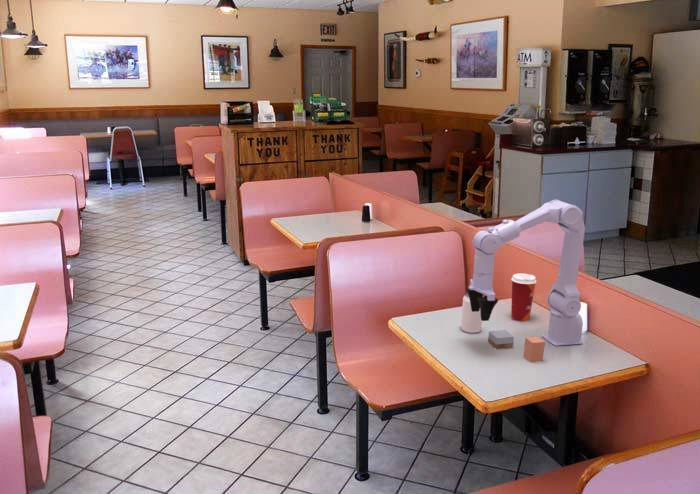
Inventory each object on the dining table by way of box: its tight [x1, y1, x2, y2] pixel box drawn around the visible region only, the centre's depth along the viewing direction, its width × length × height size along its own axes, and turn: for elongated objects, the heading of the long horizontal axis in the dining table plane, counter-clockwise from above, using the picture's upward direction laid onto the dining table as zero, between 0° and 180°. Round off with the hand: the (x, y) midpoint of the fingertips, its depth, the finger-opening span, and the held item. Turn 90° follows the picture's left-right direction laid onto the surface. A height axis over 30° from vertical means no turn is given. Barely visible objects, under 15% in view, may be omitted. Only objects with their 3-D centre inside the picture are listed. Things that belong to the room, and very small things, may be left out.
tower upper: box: [488, 329, 515, 344], centre depth 193 cm, size 6×6×2 cm
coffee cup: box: [510, 272, 538, 323], centre depth 214 cm, size 8×8×15 cm
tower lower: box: [487, 337, 514, 350], centre depth 193 cm, size 6×6×2 cm
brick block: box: [523, 336, 546, 363], centre depth 184 cm, size 4×4×6 cm
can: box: [460, 292, 483, 334], centre depth 203 cm, size 6×6×12 cm
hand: (480, 315), depth 189 cm, fingers open, 7 cm apart
